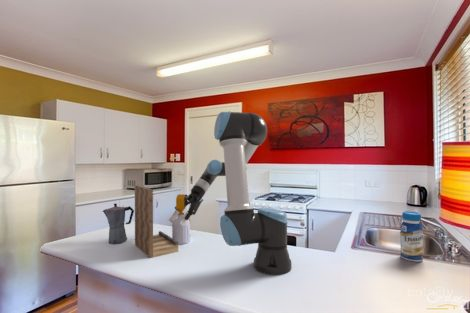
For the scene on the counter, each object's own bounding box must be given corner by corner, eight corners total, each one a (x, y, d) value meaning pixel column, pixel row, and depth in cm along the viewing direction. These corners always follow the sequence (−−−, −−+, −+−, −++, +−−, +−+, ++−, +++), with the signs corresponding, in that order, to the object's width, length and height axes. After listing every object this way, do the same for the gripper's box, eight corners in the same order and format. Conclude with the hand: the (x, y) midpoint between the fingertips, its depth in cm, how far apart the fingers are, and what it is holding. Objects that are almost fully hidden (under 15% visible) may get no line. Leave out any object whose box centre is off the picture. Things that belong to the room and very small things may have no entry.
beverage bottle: (418, 255, 119) (418, 211, 119) (426, 263, 111) (426, 215, 111) (397, 254, 122) (397, 210, 121) (403, 261, 113) (403, 214, 113)
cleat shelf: (178, 251, 126) (178, 187, 125) (149, 258, 118) (149, 190, 117) (160, 239, 143) (160, 183, 143) (134, 244, 135) (134, 185, 135)
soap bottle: (191, 238, 144) (190, 193, 144) (188, 244, 135) (188, 196, 135) (174, 239, 144) (174, 193, 144) (170, 244, 135) (170, 196, 135)
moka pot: (104, 239, 143) (103, 202, 143) (134, 237, 148) (134, 201, 148) (100, 245, 134) (100, 205, 134) (133, 242, 139) (133, 204, 139)
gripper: (216, 194, 143) (192, 231, 132) (192, 191, 158) (168, 223, 146) (208, 185, 140) (183, 222, 128) (184, 183, 154) (160, 215, 142)
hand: (175, 222), depth 137 cm, fingers closed on soap bottle, 8 cm apart
